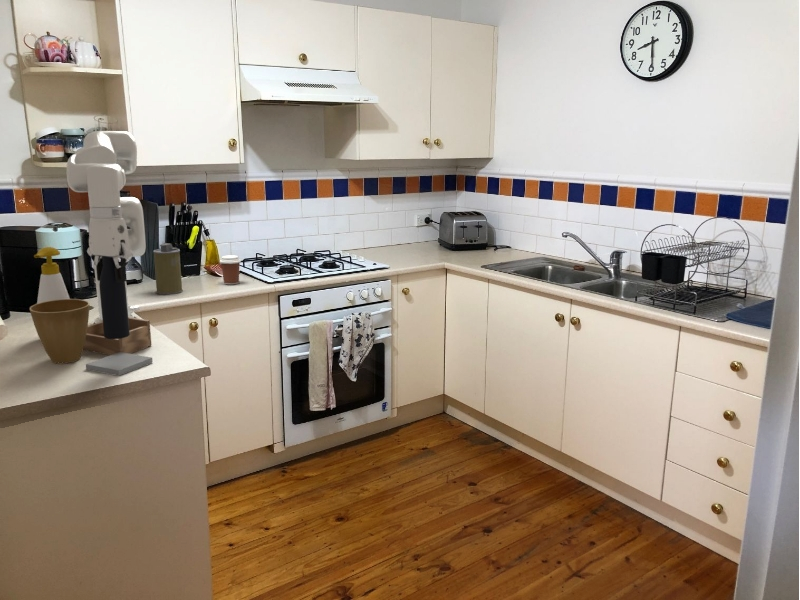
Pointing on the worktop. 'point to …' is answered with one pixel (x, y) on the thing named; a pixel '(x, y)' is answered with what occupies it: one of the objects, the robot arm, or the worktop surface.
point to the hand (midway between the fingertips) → (112, 280)
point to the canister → (167, 270)
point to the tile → (119, 363)
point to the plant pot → (62, 327)
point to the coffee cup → (230, 269)
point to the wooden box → (130, 344)
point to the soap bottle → (50, 278)
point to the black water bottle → (113, 302)
